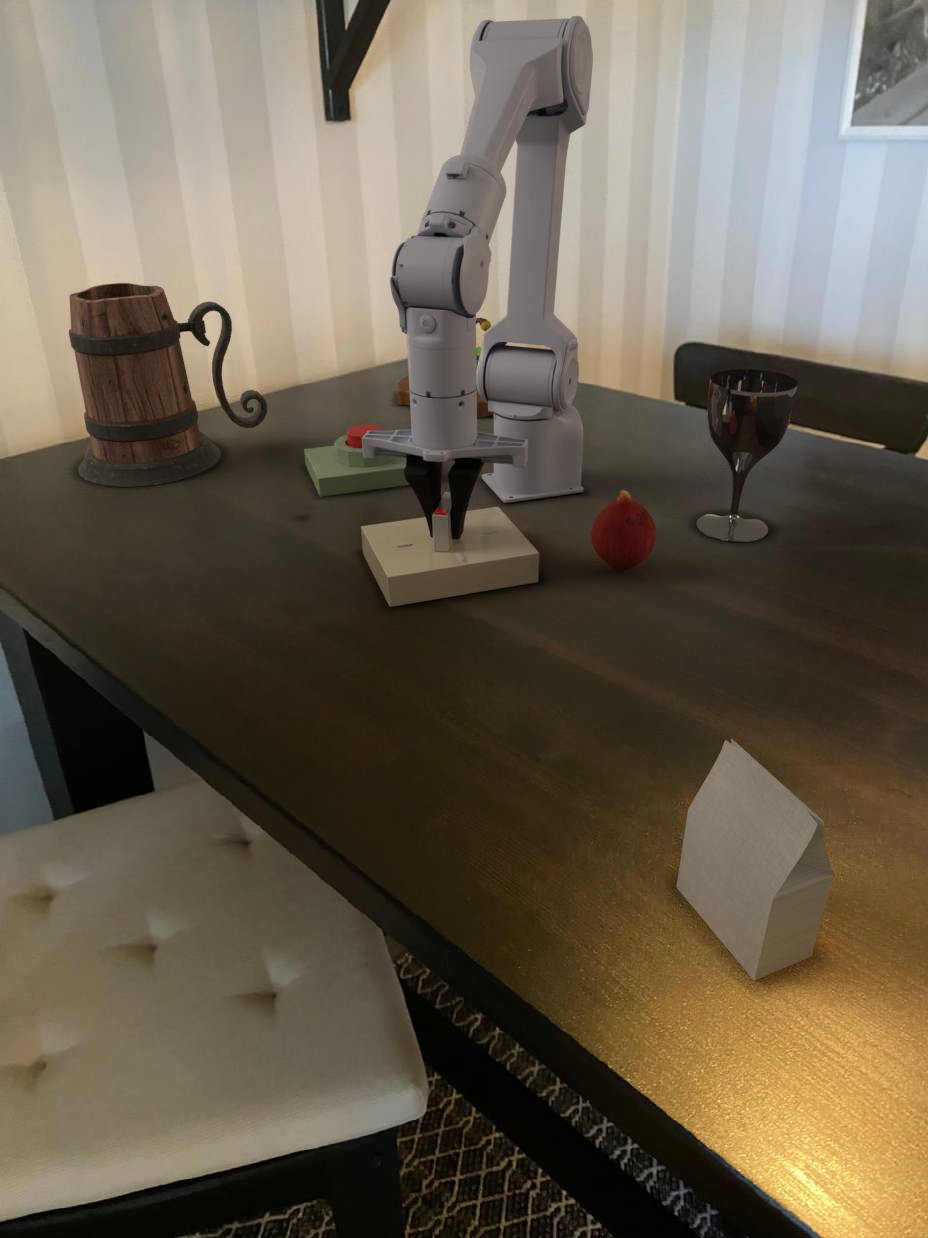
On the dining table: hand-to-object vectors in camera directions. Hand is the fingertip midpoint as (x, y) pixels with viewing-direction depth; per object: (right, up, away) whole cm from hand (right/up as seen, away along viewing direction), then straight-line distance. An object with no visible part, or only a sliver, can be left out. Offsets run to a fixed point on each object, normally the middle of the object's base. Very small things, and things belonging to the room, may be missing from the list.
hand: (446, 534), depth 83 cm
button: (-10, +12, +21) cm, 26 cm away
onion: (+16, -4, +1) cm, 17 cm away
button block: (-10, +9, +23) cm, 26 cm away
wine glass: (+29, +1, +9) cm, 30 cm away
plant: (+3, +25, +49) cm, 55 cm away
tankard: (-34, +12, +29) cm, 46 cm away
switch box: (0, 0, 0) cm, 0 cm away
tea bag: (+17, -24, -34) cm, 45 cm away
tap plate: (0, -3, +2) cm, 3 cm away
